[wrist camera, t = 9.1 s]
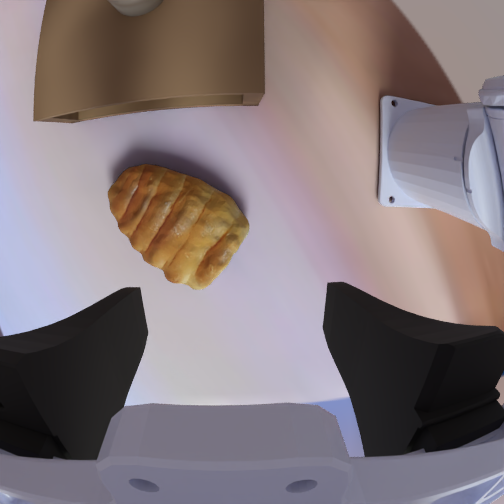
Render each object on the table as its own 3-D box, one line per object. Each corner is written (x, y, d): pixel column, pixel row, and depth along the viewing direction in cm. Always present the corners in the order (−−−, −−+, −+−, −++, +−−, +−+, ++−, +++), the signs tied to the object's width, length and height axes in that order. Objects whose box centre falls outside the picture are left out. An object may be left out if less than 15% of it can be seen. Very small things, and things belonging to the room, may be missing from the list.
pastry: (100, 217, 21) (77, 231, 17) (148, 137, 19) (130, 135, 16) (204, 287, 23) (199, 313, 19) (259, 215, 21) (264, 229, 18)
